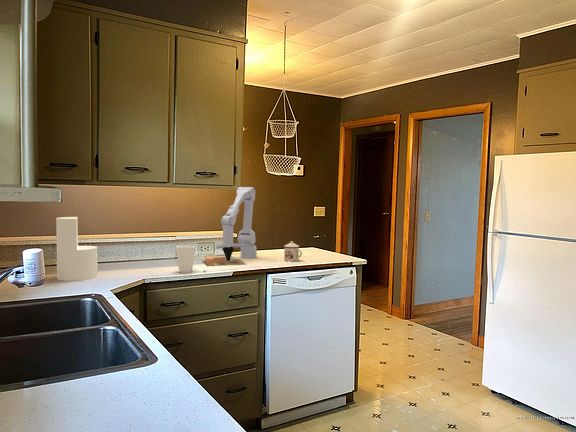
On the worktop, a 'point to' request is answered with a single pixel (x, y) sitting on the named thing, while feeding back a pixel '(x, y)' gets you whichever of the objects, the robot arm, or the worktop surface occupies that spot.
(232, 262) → the board
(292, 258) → the teacup with lid
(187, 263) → the foam cup
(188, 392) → the worktop surface
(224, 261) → the t block
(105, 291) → the worktop surface
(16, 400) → the worktop surface
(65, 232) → the cream l-shaped block
